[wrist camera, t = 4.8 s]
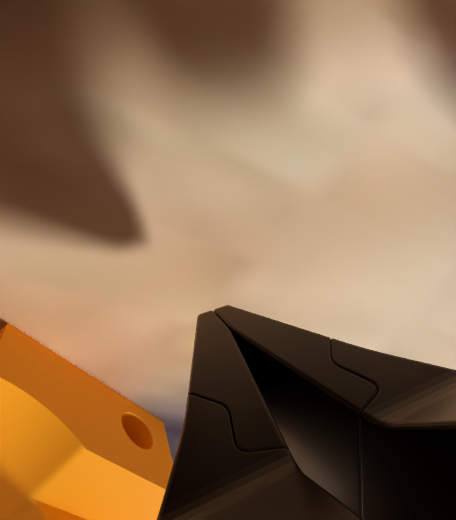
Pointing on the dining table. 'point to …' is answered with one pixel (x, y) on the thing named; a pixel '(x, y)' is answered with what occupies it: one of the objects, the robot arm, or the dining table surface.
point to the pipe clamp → (73, 442)
